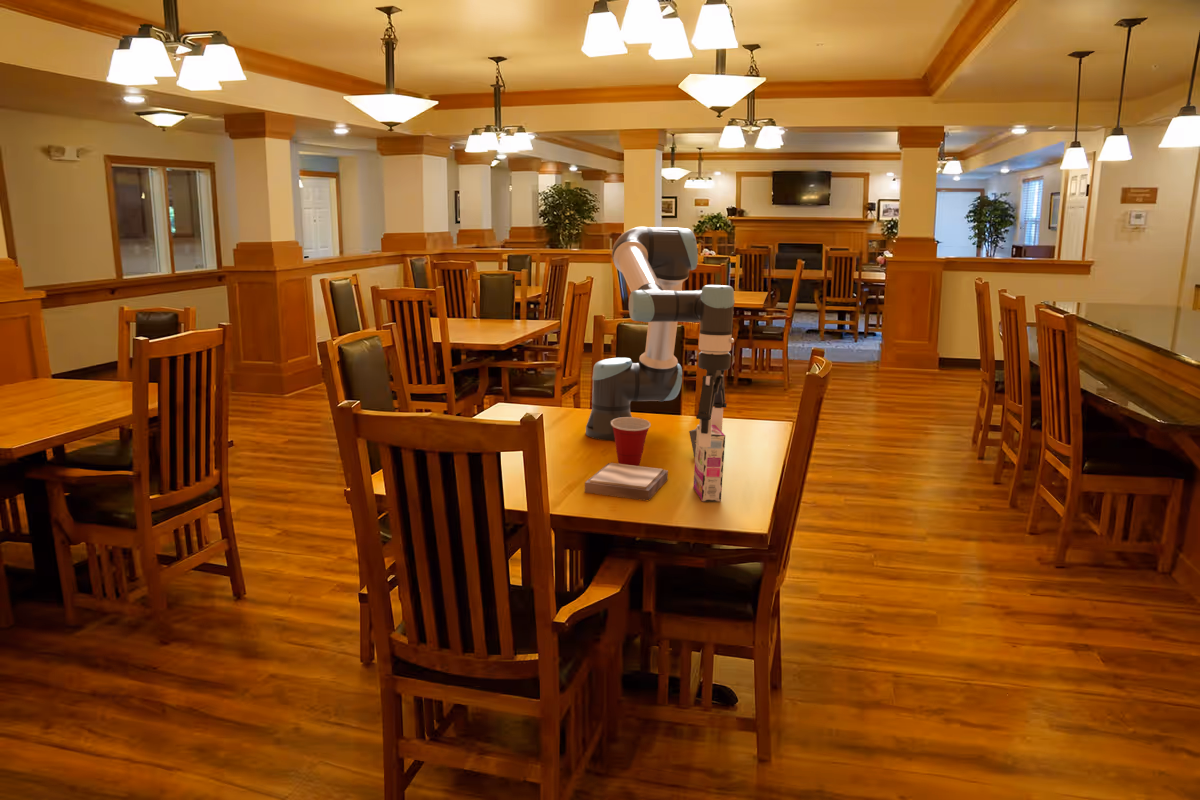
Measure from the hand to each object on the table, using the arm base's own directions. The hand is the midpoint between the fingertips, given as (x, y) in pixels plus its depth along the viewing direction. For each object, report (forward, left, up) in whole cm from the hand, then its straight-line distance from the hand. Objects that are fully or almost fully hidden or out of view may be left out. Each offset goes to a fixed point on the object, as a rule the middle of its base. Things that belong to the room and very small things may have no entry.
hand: (710, 440), depth 203 cm
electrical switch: (-34, -8, -14) cm, 38 cm away
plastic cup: (-17, -25, -14) cm, 34 cm away
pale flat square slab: (+1, -20, -14) cm, 24 cm away
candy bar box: (0, 0, -14) cm, 14 cm away
